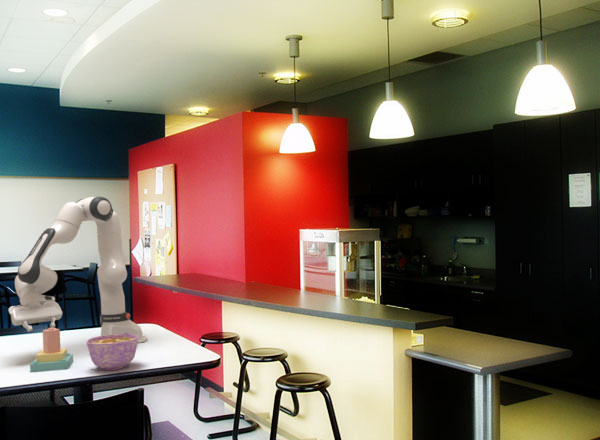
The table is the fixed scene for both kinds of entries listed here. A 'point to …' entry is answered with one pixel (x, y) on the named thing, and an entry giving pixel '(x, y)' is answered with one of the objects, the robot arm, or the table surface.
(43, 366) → the stepped square block
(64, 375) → the table surface
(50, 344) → the tall brick
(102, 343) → the bowl of food
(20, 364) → the table surface
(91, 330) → the table surface
